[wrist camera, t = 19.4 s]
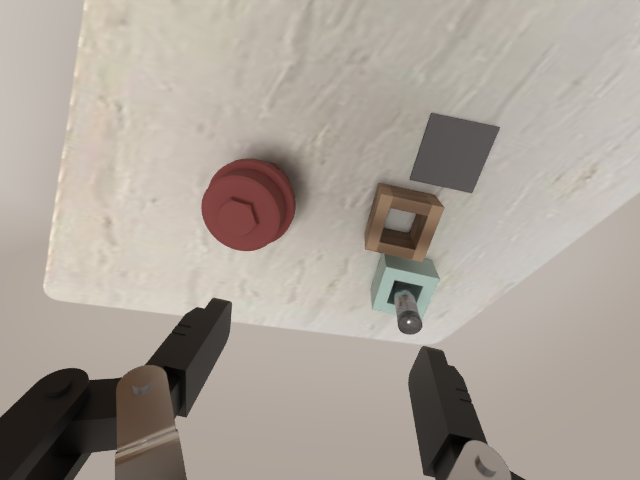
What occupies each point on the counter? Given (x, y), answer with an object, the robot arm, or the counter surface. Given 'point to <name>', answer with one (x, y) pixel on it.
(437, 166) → the mat
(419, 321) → the cylinder
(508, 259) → the counter surface
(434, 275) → the teal block
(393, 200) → the wooden square frame
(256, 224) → the mechanical component
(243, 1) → the counter surface
